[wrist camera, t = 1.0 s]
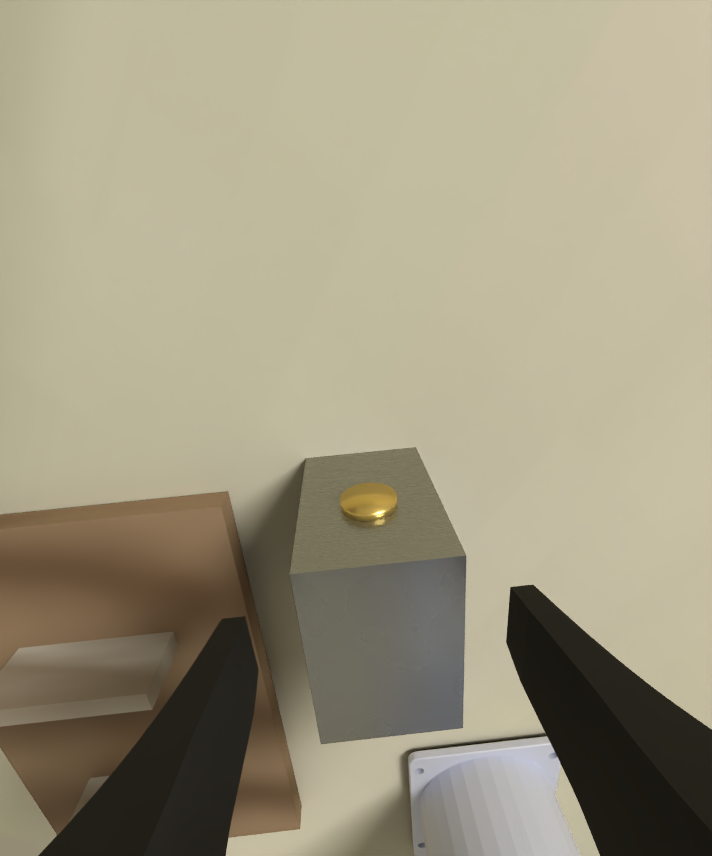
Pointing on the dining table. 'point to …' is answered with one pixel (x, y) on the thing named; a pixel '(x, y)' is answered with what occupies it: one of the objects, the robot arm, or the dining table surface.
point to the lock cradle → (124, 646)
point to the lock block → (379, 597)
